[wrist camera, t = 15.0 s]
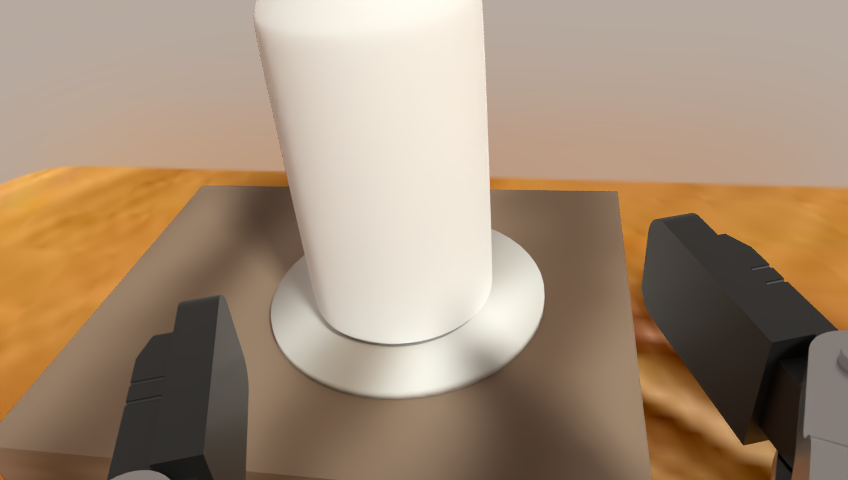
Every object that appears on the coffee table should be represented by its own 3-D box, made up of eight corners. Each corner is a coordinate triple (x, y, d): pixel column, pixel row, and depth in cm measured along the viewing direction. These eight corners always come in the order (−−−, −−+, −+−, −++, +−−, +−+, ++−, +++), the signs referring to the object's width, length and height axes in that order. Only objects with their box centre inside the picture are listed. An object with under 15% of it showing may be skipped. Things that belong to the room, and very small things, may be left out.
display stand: (20, 503, 23) (-26, 437, 21) (217, 235, 36) (200, 178, 34) (643, 574, 19) (657, 501, 17) (612, 246, 32) (618, 183, 30)
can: (279, 318, 24) (185, -34, 18) (382, 227, 29) (339, -83, 22) (434, 379, 21) (391, -20, 15) (523, 267, 26) (521, -80, 19)
